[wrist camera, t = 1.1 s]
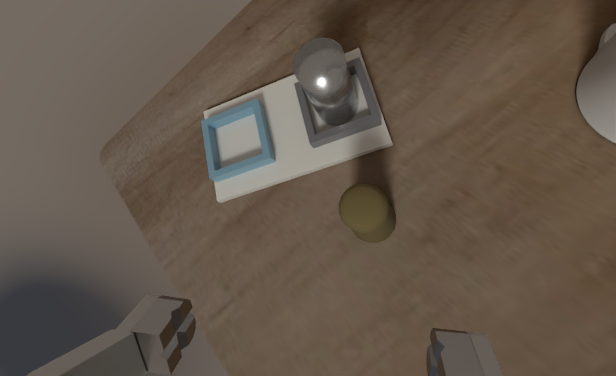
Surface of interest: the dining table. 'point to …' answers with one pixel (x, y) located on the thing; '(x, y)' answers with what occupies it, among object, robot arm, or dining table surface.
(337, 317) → the dining table surface
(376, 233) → the cork
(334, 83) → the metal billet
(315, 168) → the pallet board
